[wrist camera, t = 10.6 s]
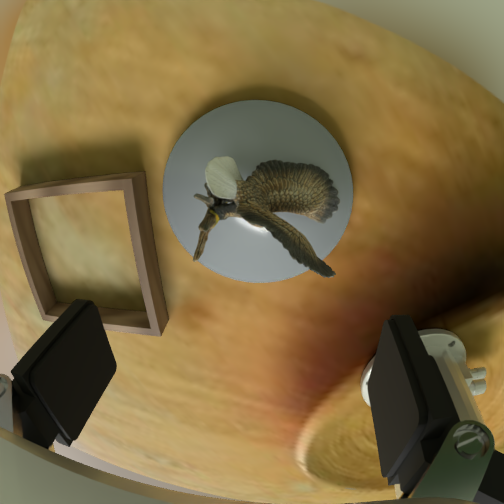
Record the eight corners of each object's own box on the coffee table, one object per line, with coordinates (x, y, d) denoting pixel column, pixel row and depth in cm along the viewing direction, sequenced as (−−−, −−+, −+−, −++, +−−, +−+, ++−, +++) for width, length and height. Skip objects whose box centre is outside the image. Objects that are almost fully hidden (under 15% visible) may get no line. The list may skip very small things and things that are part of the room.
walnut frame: (144, 171, 24) (131, 178, 21) (168, 319, 30) (160, 336, 28) (20, 186, 25) (4, 193, 23) (54, 307, 31) (42, 319, 29)
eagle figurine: (212, 267, 24) (333, 285, 22) (170, 254, 17) (337, 279, 15) (230, 172, 25) (345, 183, 23) (197, 129, 18) (351, 137, 16)
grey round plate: (353, 102, 20) (356, 102, 19) (342, 277, 26) (344, 283, 25) (160, 107, 21) (155, 107, 20) (177, 274, 27) (174, 280, 26)
